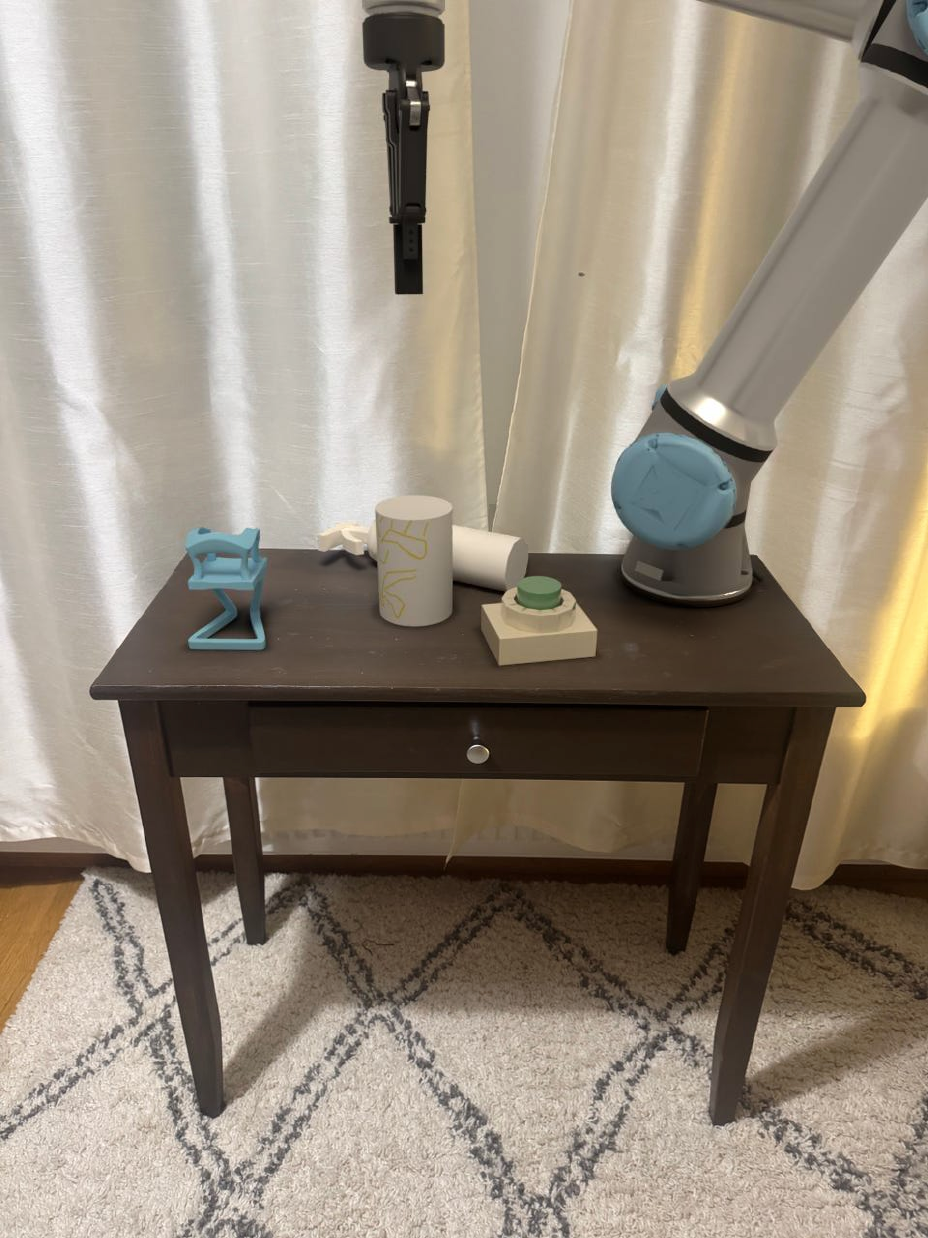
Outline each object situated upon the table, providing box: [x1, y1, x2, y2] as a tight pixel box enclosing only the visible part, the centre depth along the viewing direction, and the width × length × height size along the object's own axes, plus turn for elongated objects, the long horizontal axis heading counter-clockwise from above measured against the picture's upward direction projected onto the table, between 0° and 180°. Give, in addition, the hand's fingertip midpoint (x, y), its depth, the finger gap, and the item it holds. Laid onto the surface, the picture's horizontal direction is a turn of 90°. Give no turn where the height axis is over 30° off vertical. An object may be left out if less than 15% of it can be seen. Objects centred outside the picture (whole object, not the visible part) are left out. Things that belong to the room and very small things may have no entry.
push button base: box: [480, 587, 598, 667], centre depth 87 cm, size 10×8×5 cm
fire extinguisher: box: [317, 518, 529, 593], centre depth 104 cm, size 7×12×25 cm
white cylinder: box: [374, 494, 454, 627], centre depth 92 cm, size 8×8×12 cm
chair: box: [184, 526, 268, 651], centre depth 87 cm, size 8×8×12 cm
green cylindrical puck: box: [517, 575, 562, 610], centre depth 86 cm, size 4×4×2 cm
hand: (408, 293), depth 88 cm, fingers closed
